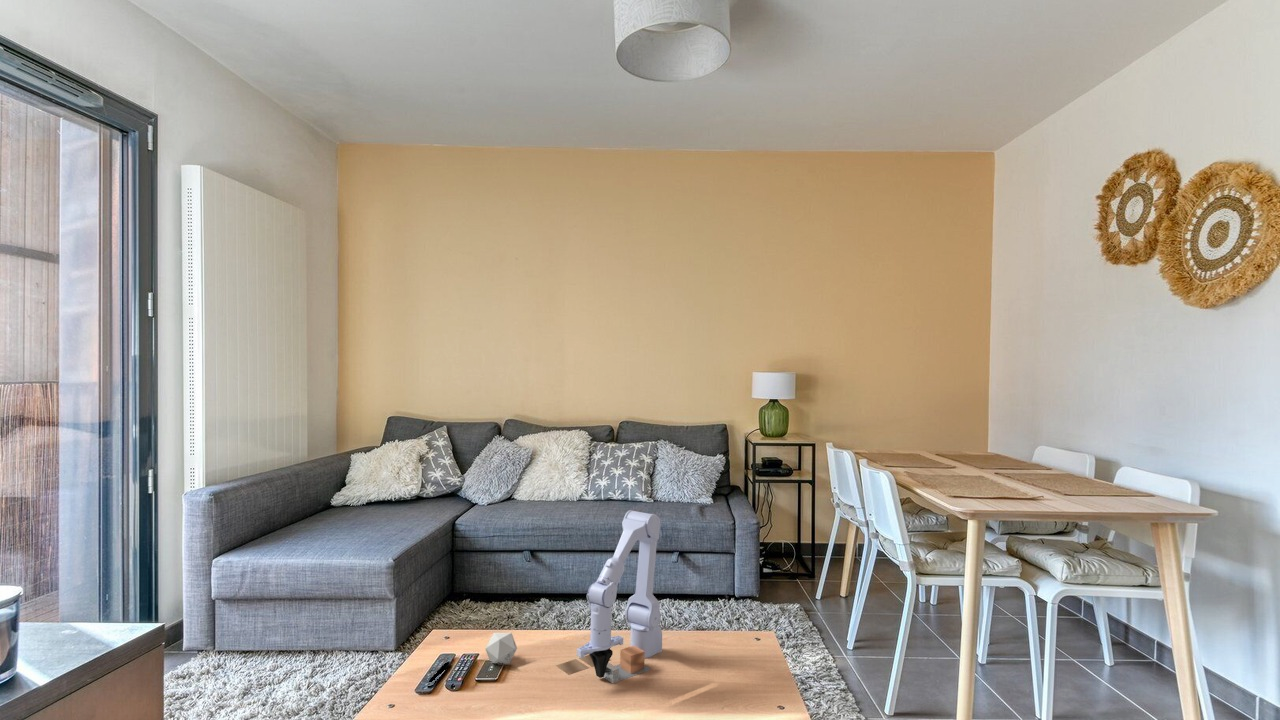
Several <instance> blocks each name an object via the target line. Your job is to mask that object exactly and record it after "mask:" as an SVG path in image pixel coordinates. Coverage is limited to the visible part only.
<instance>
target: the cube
mask: <svg viewBox="0 0 1280 720" xmlns="http://www.w3.org/2000/svg"><path fill="white" fill-rule="evenodd" d="M619 651H620V652H619V654H620V657H619V658H620V659H619V664H620V667H621V668H622V669H624V670H626V671H627V672H629V673H630V674H631V673H634V672H637V671H640V670H642V669H644V665H645V659H646V658H645V651H643V650H641V649H639V648H638V647H636V646H631V645H630V646H628V647H625V648H622V649H620V650H619Z"/></svg>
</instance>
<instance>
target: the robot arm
mask: <svg viewBox="0 0 1280 720" xmlns="http://www.w3.org/2000/svg"><path fill="white" fill-rule="evenodd" d="M621 522H622V523H621V524H622V525H621V526H622V534H621V536H620V538H619V541H618V543H617V545H616V548H615V550H614V554H613V556H612V557H610V558H607V560H606V562H605V563H604V566H603V568H602V569H601V571H600V572H599V573H600V574H599V576H598V578H597V580H596V581H594V582H593V583H592V584H590V586H589V587H588V590H587V594H586V600H587V602H588V608H589V610H590V640H589V642H586V643H585V644H584V645H582V646H580V647H578V648H576V656H578V658H582V657H584V656H587V655H590V657H591V659H592V661H593V664H594V667H593V668H594V671H595V676H596V677H598V678H599V679H601V678H603V677H604V674H605V670H606V667H607V664H608V662H609V663H610V661H609V660H611V658H612V656H613V655H614V654H613V650H612V649H611V648H612V647H616V646H622V645H624V637H623V636H622V635H615V636H612V606H613V605H614V603H615V601H616V598H617V594H618V592H617V591H618V584H619V582H620V580H621V578H622V576H623V575H624V572H625V569H626V568H625V567H626V566H625V564H624V563H625V561H626V559H627V558H628V557H629V555H630V552H631V551H632V549H633V548H634V547H635V545H636V542H638V541H639V548H638V561H637V573H636V582H635V593H634V594H633V595H631V596H630V597H629V598H628V599H627V605H626V607H625V612H624V617H625V620H626V622H627V623H628V627H630V647H631V646H636V647H638V648H639V649H641V650H643V651H645V659H649V658H651V657H653V656H655V655H657V654H660V653H663V630H662V628H661V626H660V622H661V618H662V617H661V616H662V615H661V614H662V613H661V610H660V608H661V607H660V606H661V602H660V601H659V599H657V598H656V596H654V594H653V593H654V591H653V590H654V579H655V569H656V566H655V565H656V558H657V557H656V556H657V554H656V553H657V544H658V540H660V534H661V533H660V531H661V519H660V518H659V517H658V515H657V514H655V513H648V512H642V511H635V510H632V509H629V510H627V512H625V515H624V517H623V520H622V521H621Z"/></svg>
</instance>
